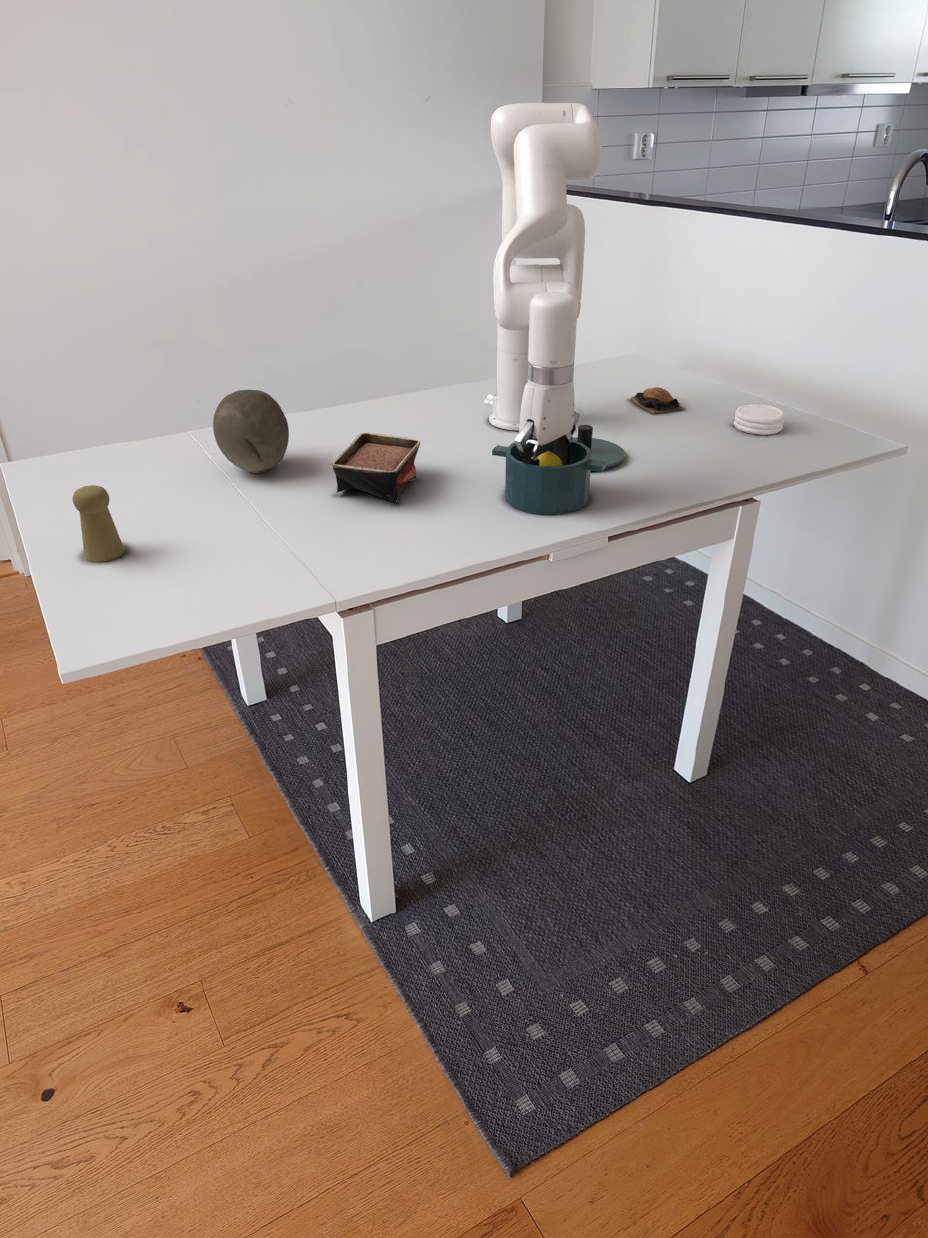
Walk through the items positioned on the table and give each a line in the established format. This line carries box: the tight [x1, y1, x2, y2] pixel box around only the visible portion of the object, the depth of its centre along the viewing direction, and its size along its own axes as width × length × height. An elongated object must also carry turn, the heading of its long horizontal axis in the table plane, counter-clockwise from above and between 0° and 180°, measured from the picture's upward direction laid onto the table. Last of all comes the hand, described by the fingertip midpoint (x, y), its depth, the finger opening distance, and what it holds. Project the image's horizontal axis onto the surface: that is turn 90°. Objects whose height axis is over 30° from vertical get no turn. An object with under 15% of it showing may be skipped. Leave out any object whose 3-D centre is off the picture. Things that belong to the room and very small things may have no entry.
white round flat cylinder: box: [733, 403, 786, 436], centre depth 185 cm, size 10×10×4 cm
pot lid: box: [573, 424, 626, 469], centre depth 171 cm, size 16×16×6 cm
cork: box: [72, 484, 126, 563], centre depth 137 cm, size 6×6×11 cm
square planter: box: [331, 432, 421, 504], centre depth 159 cm, size 14×18×10 cm
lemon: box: [537, 451, 563, 466], centre depth 155 cm, size 6×6×8 cm
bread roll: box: [630, 386, 683, 415], centre depth 198 cm, size 11×8×4 cm
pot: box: [491, 437, 607, 516], centre depth 155 cm, size 15×20×8 cm
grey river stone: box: [212, 389, 290, 474], centre depth 165 cm, size 14×14×15 cm
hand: (546, 470), depth 155 cm, fingers open, 8 cm apart
